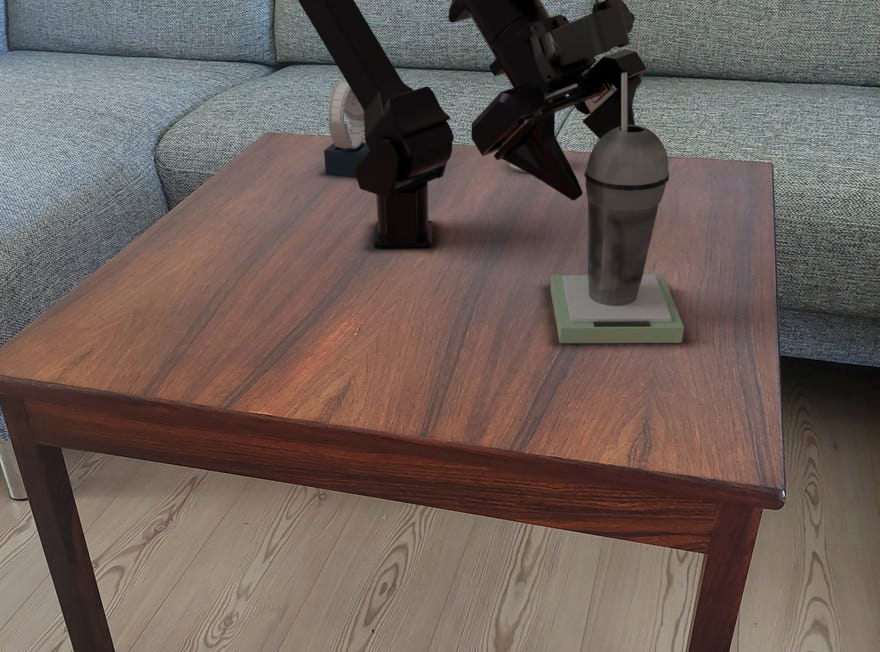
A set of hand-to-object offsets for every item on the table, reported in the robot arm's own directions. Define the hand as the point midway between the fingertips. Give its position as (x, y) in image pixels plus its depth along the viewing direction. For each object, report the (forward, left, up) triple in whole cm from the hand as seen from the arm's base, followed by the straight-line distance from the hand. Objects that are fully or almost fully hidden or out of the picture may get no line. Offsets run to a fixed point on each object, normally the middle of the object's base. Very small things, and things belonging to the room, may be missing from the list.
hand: (609, 182), depth 83 cm
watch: (+40, +28, -13) cm, 50 cm away
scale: (-1, -1, -12) cm, 13 cm away
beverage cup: (-1, -1, -11) cm, 11 cm away
